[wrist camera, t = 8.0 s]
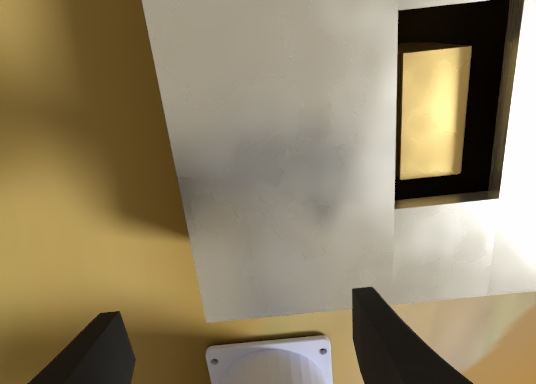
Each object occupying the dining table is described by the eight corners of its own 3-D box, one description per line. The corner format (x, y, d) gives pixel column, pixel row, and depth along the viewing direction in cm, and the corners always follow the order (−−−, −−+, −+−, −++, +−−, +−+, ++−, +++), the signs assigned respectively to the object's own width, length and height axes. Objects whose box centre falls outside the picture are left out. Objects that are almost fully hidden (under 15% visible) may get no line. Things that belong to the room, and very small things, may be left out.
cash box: (567, 211, 23) (677, 277, 17) (220, 246, 23) (206, 322, 17) (636, -133, 17) (846, -222, 11) (165, -78, 17) (114, -134, 11)
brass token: (416, 141, 21) (460, 173, 17) (369, 146, 21) (400, 179, 17) (421, 41, 19) (471, 46, 15) (369, 47, 19) (403, 53, 15)
